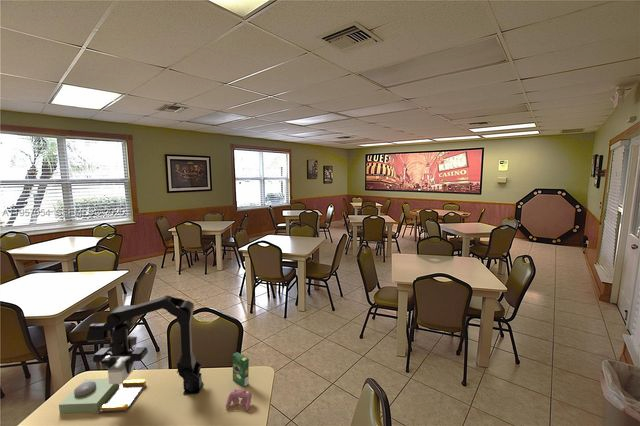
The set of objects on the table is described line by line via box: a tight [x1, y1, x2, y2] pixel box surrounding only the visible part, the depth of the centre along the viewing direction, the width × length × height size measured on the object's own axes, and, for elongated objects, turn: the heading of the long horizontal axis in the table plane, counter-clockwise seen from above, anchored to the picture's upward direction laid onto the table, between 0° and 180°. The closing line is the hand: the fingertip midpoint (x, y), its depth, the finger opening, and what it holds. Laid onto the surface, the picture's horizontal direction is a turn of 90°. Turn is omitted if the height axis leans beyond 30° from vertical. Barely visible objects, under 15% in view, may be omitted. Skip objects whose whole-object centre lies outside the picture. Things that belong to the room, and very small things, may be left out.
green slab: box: [58, 378, 120, 415], centre depth 120 cm, size 14×14×6 cm
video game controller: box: [225, 388, 253, 412], centre depth 119 cm, size 10×5×7 cm, turn 85°
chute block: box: [107, 356, 135, 385], centre depth 119 cm, size 5×9×6 cm, turn 5°
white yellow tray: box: [98, 379, 147, 414], centre depth 121 cm, size 10×15×2 cm, turn 4°
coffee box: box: [232, 351, 250, 388], centre depth 131 cm, size 8×3×13 cm, turn 57°
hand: (122, 373), depth 120 cm, fingers closed on chute block, 5 cm apart
